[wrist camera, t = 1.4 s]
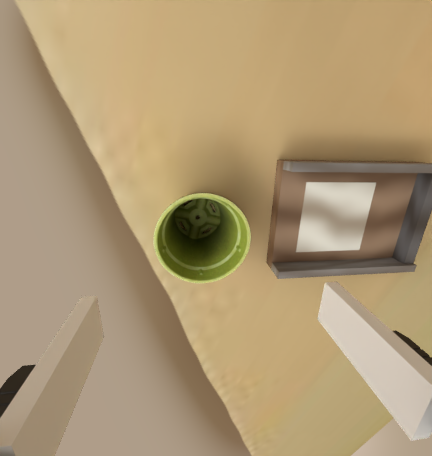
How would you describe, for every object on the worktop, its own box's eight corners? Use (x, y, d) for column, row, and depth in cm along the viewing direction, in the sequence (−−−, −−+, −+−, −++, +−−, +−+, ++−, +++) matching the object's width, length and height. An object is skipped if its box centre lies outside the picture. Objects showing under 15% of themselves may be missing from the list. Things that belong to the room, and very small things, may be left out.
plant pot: (207, 164, 29) (217, 172, 20) (246, 223, 32) (267, 251, 24) (146, 207, 29) (132, 231, 21) (189, 260, 33) (191, 299, 25)
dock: (277, 159, 29) (293, 162, 25) (416, 162, 32) (451, 164, 28) (266, 262, 34) (278, 278, 30) (388, 257, 37) (414, 271, 33)
